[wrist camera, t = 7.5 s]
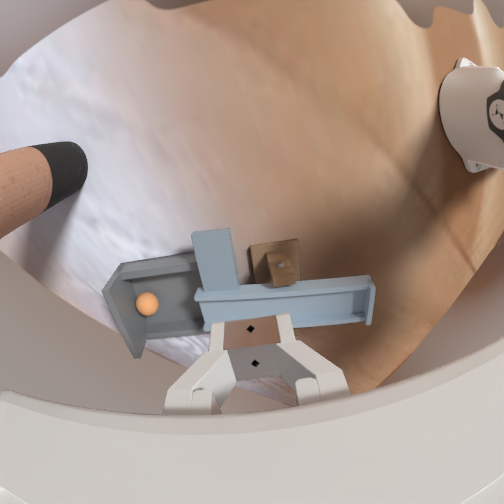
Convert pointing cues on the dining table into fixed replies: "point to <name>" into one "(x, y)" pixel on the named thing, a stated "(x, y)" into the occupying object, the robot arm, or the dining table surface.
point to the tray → (167, 292)
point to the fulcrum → (277, 264)
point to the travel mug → (37, 180)
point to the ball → (147, 303)
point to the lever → (274, 291)
